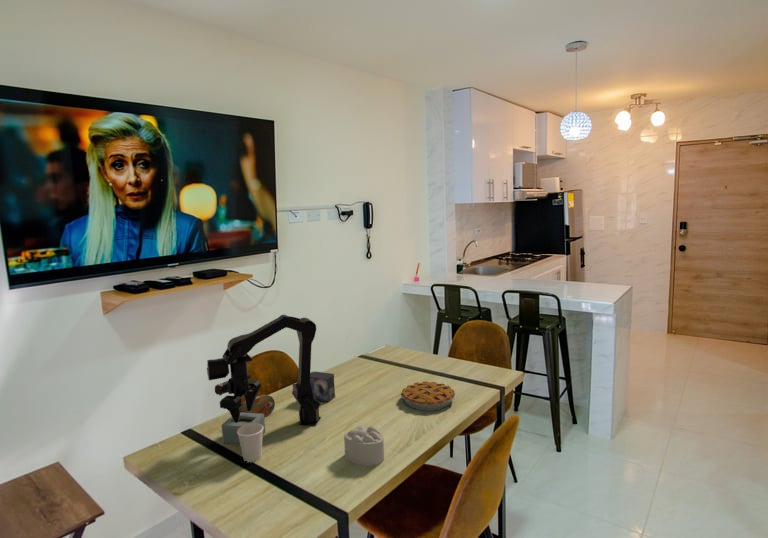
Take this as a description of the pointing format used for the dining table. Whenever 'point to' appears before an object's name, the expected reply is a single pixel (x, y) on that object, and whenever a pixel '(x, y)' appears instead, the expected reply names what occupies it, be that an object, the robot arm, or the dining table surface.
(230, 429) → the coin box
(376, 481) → the dining table surface
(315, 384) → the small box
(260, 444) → the dixie cup
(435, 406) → the pie
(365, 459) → the lumpy-topped squat cylinder
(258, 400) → the tin
